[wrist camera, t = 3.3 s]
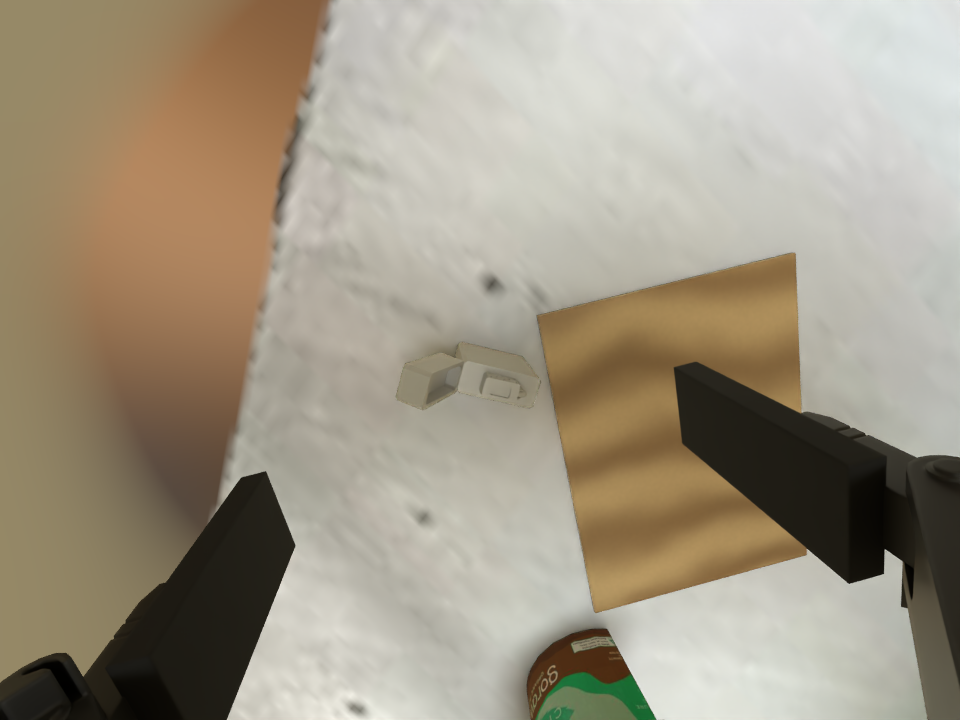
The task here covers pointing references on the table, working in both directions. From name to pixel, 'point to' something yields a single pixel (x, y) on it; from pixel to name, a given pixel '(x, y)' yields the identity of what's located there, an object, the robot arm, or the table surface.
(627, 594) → the wooden board
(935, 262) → the table surface
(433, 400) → the lighter
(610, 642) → the food container
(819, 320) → the table surface
